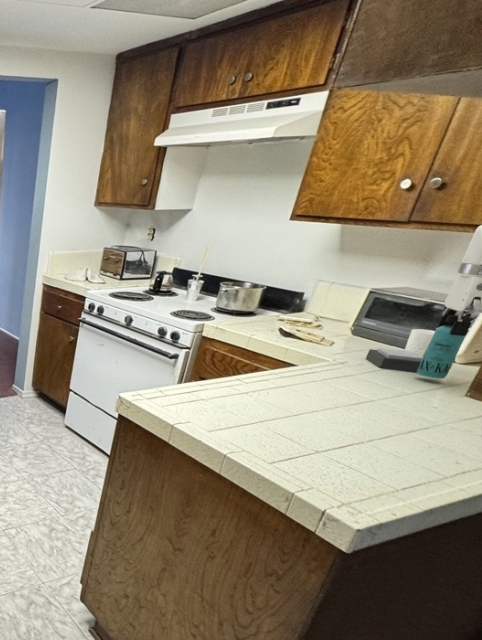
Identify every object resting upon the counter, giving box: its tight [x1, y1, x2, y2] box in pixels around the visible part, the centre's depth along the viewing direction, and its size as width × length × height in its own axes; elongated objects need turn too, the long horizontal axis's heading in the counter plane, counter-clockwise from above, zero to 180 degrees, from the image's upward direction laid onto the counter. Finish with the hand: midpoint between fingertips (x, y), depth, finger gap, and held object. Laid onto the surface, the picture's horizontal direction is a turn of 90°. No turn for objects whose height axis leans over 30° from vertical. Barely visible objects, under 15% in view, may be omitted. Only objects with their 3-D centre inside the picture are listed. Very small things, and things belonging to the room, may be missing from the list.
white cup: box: [404, 328, 436, 357], centre depth 163 cm, size 8×8×10 cm
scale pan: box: [376, 347, 423, 362], centre depth 156 cm, size 9×9×2 cm
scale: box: [365, 348, 420, 374], centre depth 157 cm, size 12×12×4 cm
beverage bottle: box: [416, 314, 467, 379], centre depth 140 cm, size 6×7×20 cm
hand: (450, 331), depth 138 cm, fingers closed on beverage bottle, 6 cm apart
